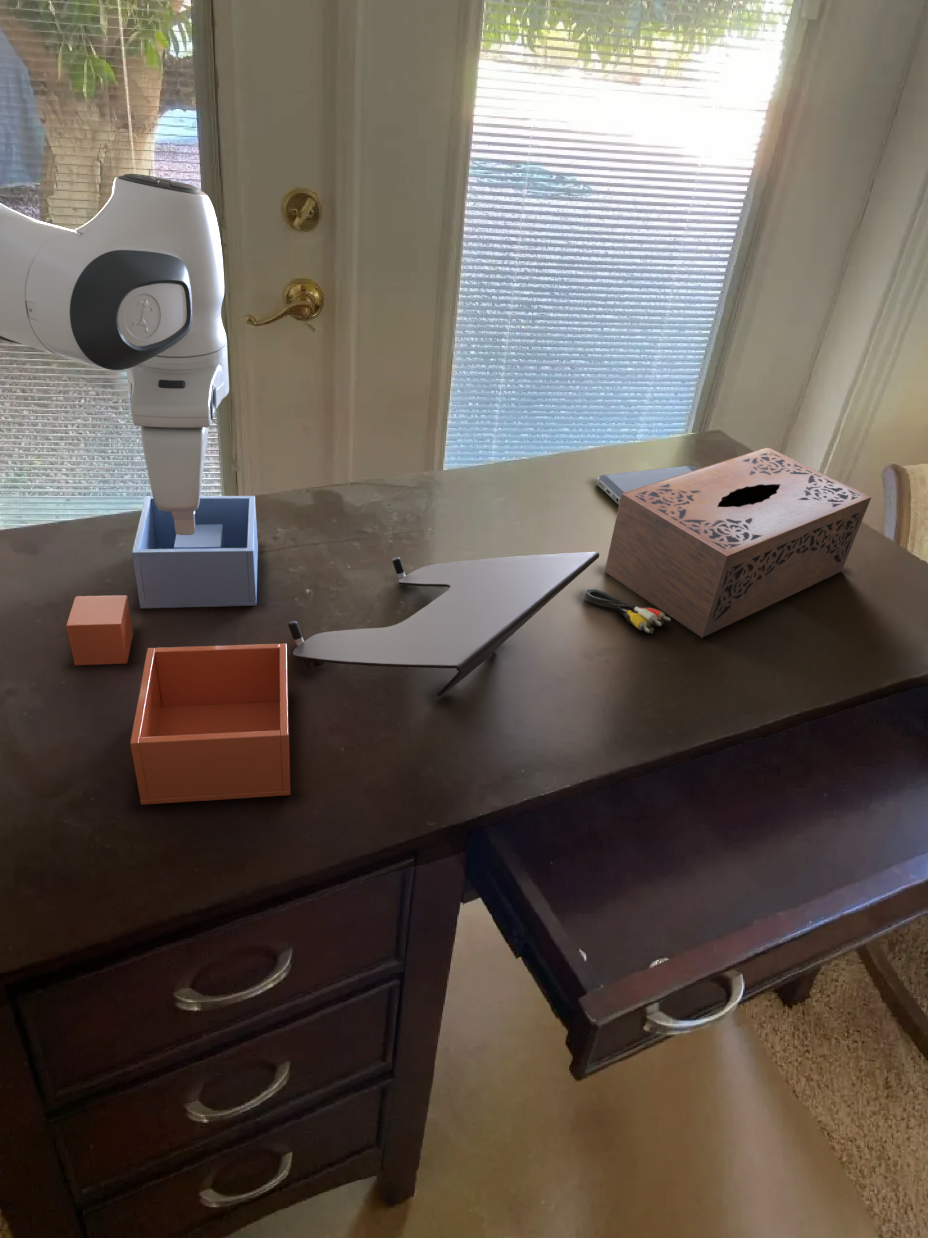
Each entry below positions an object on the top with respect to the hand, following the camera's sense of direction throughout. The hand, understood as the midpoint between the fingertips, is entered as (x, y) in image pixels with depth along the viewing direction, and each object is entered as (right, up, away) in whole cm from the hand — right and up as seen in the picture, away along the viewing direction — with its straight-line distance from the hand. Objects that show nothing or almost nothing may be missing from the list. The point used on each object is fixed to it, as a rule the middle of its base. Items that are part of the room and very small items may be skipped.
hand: (189, 507), depth 88 cm
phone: (+54, +6, +31) cm, 62 cm away
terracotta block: (-6, -14, -6) cm, 16 cm away
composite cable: (+45, -11, +6) cm, 46 cm away
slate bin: (0, -7, +5) cm, 8 cm away
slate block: (0, -6, +5) cm, 8 cm away
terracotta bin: (+7, -22, -15) cm, 27 cm away
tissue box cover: (+58, -6, +15) cm, 60 cm away
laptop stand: (+24, -14, -2) cm, 28 cm away
